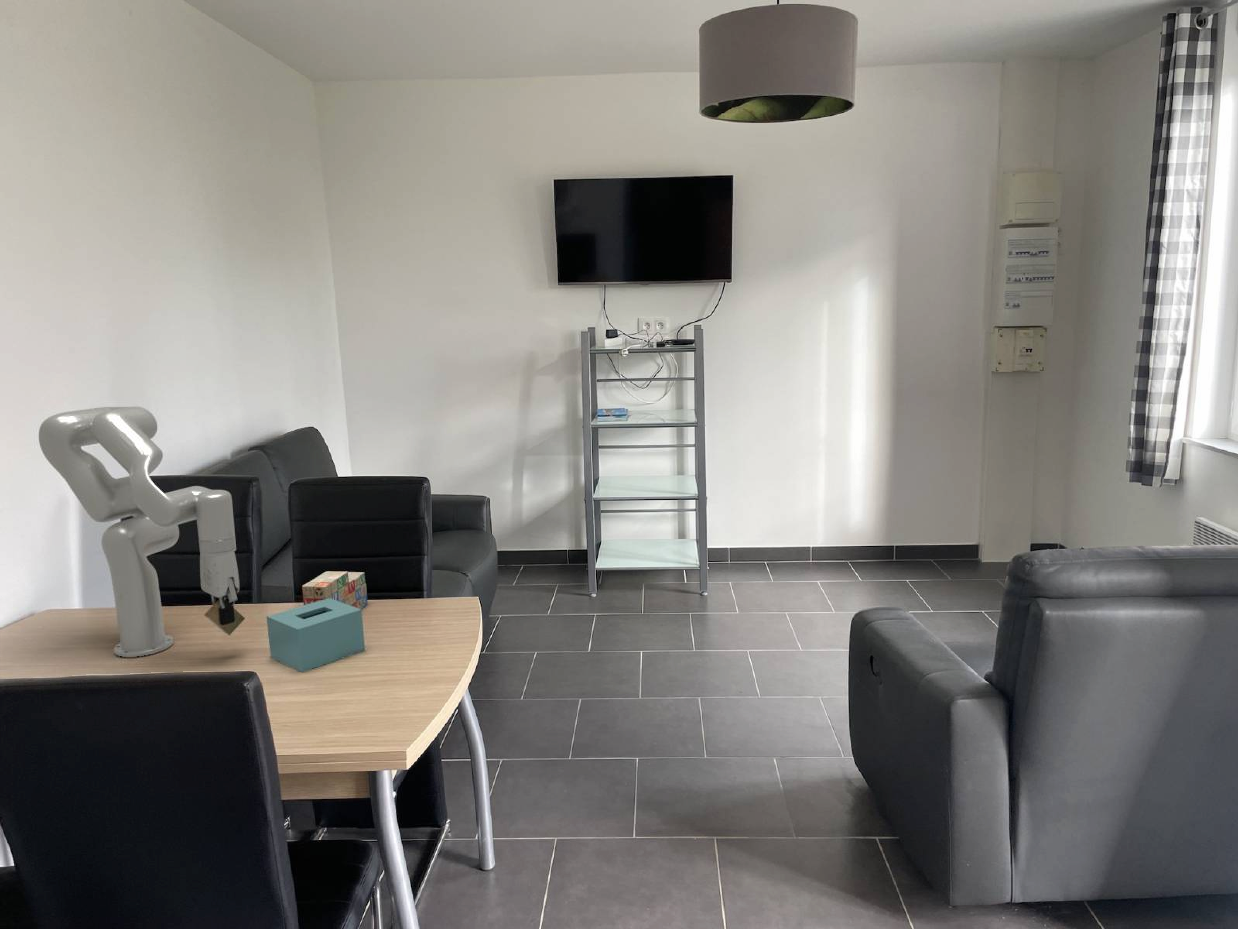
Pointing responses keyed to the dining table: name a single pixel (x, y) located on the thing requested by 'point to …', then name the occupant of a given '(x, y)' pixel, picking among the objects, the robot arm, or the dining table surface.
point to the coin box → (315, 634)
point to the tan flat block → (215, 618)
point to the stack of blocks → (337, 588)
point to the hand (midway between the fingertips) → (224, 621)
